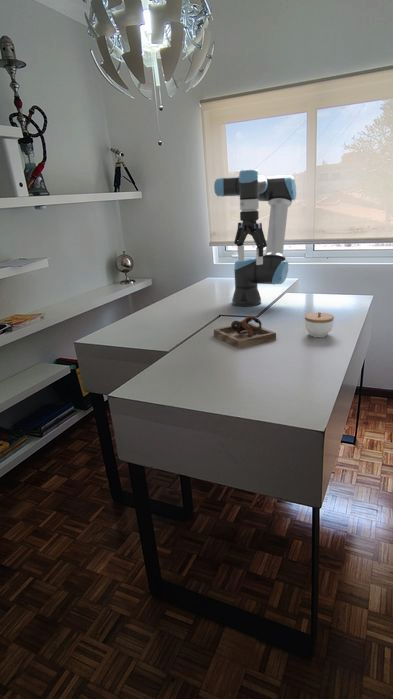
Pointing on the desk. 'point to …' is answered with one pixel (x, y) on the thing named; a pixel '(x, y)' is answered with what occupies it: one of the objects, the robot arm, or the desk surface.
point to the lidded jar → (319, 324)
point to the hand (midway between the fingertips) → (250, 262)
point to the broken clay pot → (244, 326)
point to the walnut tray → (244, 336)
